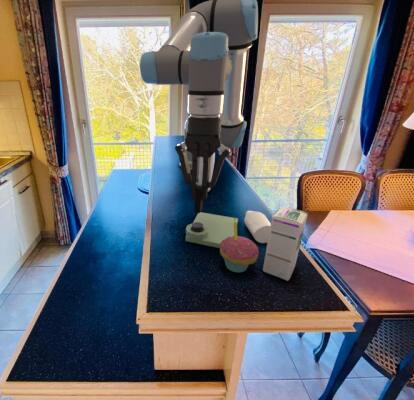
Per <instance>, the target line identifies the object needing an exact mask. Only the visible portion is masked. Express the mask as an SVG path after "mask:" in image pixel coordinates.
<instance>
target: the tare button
mask: <svg viewBox="0 0 414 400" xmlns="http://www.w3.org/2000/svg"><path fill="white" fill-rule="evenodd" d="M192 223H193V222H192ZM192 223H191V224H192ZM192 231H193V232H202V231H203V224H202V223H199V222H195V223H193V224H192Z"/></svg>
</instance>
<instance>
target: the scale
mask: <svg viewBox="0 0 414 400" xmlns="http://www.w3.org/2000/svg"><path fill="white" fill-rule="evenodd" d="M234 218H235V219H234ZM235 220H236V221H237V224H238V223H239V218H237V217H231V216H224V215H219V214H212V213H207V212H202V211H201V212H200V213H197V214H196V216H195V219H194V220H193V222H192V223H190V224H187V226H186V228H185V234H186V235H185V238H184V239H185V240H184V241H185V242H188V243H193V244H198V245H203V246H207V247H213V248H217V249H220V248H219V245H220V243H221V242H222V240H224V239H225V238H227V237H231V236H234V221H235ZM195 222H199V223H202V224H203V231H202V232H193V231H192V224H193V223H195Z"/></svg>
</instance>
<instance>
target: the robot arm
mask: <svg viewBox="0 0 414 400" xmlns="http://www.w3.org/2000/svg"><path fill="white" fill-rule="evenodd" d="M258 4H259V3H258V1H257V0H207V1H206V0H205V1H203V2H201V3H198V4H196V5H194V7H193V6H192V8H190V9H189V10H188V11H186V12H185V13H184V14H183V15H182V16H181V18H180V19H179V22H178V24H177V28H176V29H175V30H174V31H173V32H172V34H171V35H170V36H169V37H168V38H167V40H166V41H164V43H163V44H162V46H160V48H159V49H158V50H157V51H155V50H151V51H145V52H143V53H142V54H141V57H140V59H139V73H140V77H141V79H142V82H143V83H145V84H147V85H155V86H163V85H165V86H166V85H167V86H168V85H170V86H172V85H175V86H176V85H177V86H179V85H180V86H181V85H186V86H187V85H188V95H187V114H188V116H187V118H186V120H185V121H184V130H183V131H184V135H183V137H184V138H183V142H180V143H178V144H177V145H175V146H174V150H175V152H176V154H177V156H178V158H179V168H180V169H181V174H182V177H183V182H184V185H186V186H187V185H189V186H190V187H191V192H190V194H191V195H190V197H191V200H194V209H193V212H194V213H195V214H198V213H200V212H202V210H203V205H204V201H206V200H207V199H208V193H209V192H208V188H210V189H213V188H215V186H216V184H217V181H218V179H219V176H220V173H221V170H222V168H223V165H224V162H225V159H226V158H227V157H228V156H229V155H230V153H231V149H238V148H240V147H241V146H242V144H243V141H244V137H245V132H246V128H247V123H248V122H247V121H246V120H244V115H243V114H242V113H241V112H242V111H241V110H242V100H243V90H244V80H245V72H246V71H245V69H246V62H247V52H248V50H249V49H250V48H252V46H253V41H255V40H257V39H258V29H259V6H258ZM218 150H219V151H218ZM217 151H218V155H219V157H218V159H217V162H216V165H215V166H214V169H213V174H212V179H211V181H209V173H210V160H211V156H212V155H213V154H214V153H215V154H216V152H217ZM200 157H203V175H202V185H198V183H199V182H198V181H199V166H200Z"/></svg>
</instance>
